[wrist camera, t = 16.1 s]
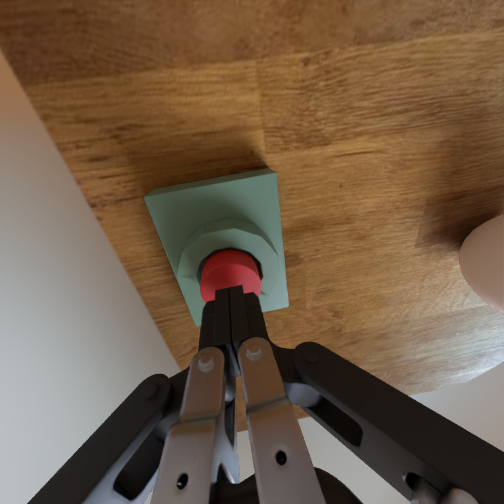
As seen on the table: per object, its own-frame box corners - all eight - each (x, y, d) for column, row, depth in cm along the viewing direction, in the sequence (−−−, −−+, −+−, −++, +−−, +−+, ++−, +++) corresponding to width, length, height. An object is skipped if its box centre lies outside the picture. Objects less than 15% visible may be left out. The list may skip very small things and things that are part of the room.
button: (209, 299, 15) (208, 318, 13) (195, 255, 13) (191, 271, 11) (260, 288, 15) (265, 306, 13) (252, 243, 13) (256, 257, 12)
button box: (198, 308, 20) (193, 345, 16) (153, 189, 14) (130, 205, 11) (282, 290, 20) (295, 323, 16) (269, 167, 15) (284, 176, 11)
